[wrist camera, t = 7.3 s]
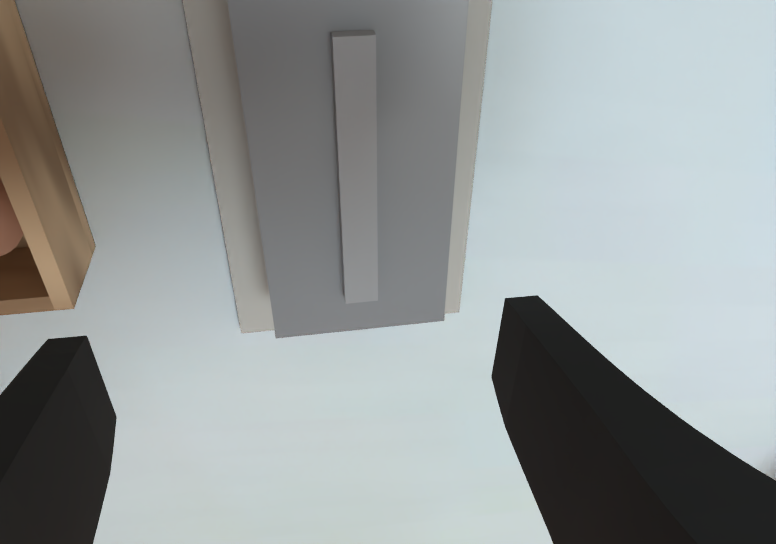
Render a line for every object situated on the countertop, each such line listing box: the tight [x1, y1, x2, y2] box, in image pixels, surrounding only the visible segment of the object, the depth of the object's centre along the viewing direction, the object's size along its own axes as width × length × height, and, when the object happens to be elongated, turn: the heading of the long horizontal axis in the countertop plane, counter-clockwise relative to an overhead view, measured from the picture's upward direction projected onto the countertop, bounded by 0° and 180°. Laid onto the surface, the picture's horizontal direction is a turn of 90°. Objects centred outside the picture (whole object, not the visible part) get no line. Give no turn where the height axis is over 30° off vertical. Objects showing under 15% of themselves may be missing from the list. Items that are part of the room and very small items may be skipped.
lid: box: [227, 0, 469, 338], centre depth 18 cm, size 11×6×2 cm, turn 0°
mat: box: [182, 0, 492, 333], centre depth 19 cm, size 14×8×1 cm, turn 179°
